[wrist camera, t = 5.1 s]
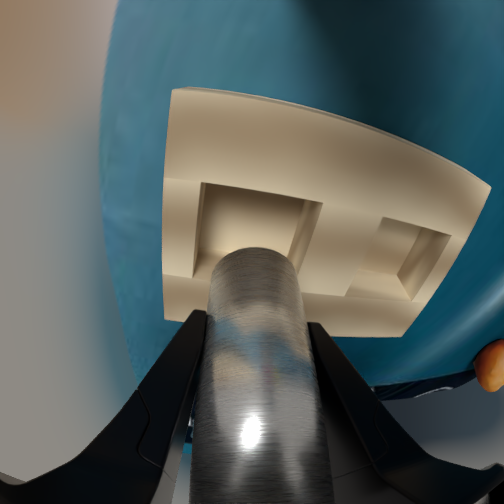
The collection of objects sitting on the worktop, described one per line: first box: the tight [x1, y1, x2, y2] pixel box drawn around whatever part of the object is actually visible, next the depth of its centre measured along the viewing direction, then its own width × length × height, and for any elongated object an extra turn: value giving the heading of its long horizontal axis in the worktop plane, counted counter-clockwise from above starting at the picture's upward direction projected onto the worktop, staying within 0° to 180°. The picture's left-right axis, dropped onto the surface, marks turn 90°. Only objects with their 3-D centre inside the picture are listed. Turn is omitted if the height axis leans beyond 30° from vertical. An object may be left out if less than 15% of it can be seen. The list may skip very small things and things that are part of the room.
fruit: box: [473, 339, 504, 392], centre depth 25 cm, size 8×8×8 cm
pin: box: [189, 247, 335, 504], centre depth 7 cm, size 3×3×8 cm
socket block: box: [162, 87, 491, 337], centre depth 14 cm, size 12×16×3 cm
